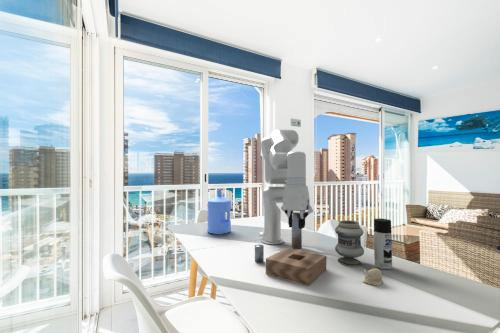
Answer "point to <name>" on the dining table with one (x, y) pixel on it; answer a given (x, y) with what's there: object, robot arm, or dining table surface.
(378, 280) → the decorative ornament
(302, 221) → the robot arm
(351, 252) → the apothecary jar
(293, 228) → the tall pin
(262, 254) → the short pin
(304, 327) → the dining table surface
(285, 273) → the hole block
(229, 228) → the water jug
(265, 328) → the dining table surface
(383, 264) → the spray can
